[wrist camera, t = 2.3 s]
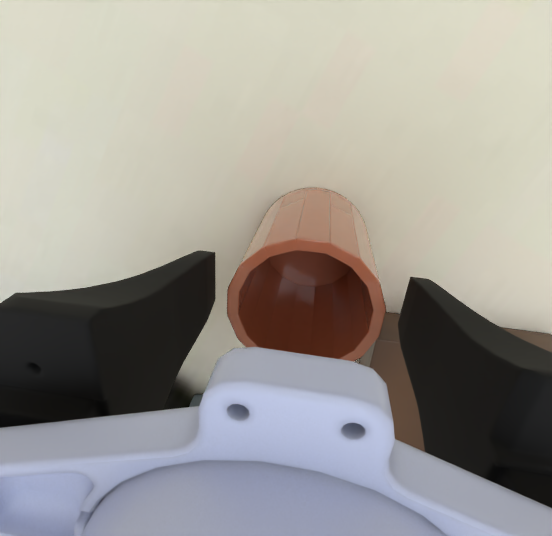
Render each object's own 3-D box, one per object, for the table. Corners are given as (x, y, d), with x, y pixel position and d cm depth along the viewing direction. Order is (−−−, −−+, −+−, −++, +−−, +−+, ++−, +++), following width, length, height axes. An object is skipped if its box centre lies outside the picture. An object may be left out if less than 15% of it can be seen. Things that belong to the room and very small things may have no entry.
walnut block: (344, 429, 23) (345, 465, 21) (370, 310, 19) (376, 338, 17) (491, 452, 22) (509, 492, 20) (551, 334, 18) (582, 367, 16)
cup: (257, 280, 19) (226, 362, 14) (262, 181, 17) (227, 230, 11) (356, 292, 19) (368, 383, 13) (376, 193, 17) (400, 250, 11)
